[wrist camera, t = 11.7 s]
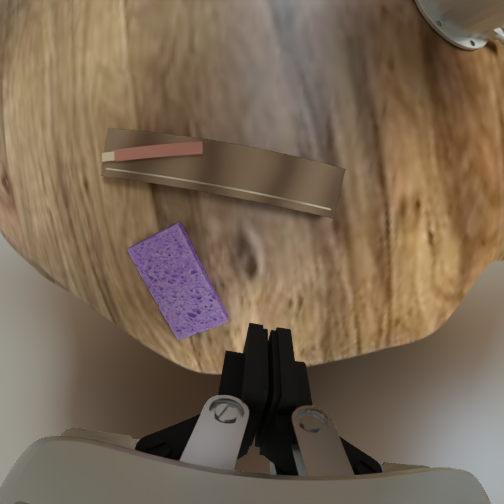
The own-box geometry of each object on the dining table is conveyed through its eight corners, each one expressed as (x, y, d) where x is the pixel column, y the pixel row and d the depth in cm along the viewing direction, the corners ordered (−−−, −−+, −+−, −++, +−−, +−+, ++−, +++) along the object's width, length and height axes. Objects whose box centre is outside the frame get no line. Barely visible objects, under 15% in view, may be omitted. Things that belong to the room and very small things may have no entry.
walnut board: (338, 168, 30) (345, 169, 28) (327, 213, 32) (333, 218, 29) (118, 129, 29) (108, 128, 27) (111, 173, 31) (101, 175, 28)
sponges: (180, 332, 37) (177, 340, 35) (130, 244, 34) (124, 249, 32) (230, 315, 36) (229, 323, 34) (181, 219, 33) (177, 222, 31)
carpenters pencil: (203, 141, 27) (201, 141, 27) (203, 154, 28) (202, 154, 27) (104, 151, 27) (101, 151, 27) (105, 162, 28) (102, 163, 27)
